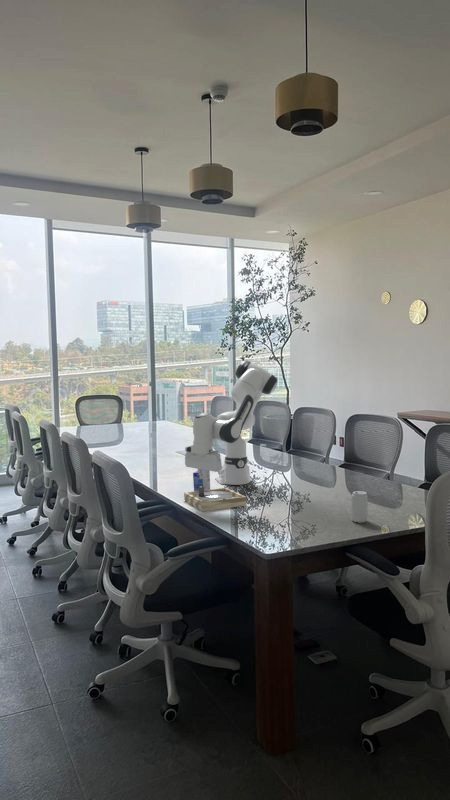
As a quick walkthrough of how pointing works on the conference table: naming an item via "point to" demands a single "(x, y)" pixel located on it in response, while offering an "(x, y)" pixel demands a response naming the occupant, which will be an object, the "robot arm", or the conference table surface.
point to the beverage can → (359, 506)
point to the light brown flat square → (215, 504)
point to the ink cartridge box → (201, 481)
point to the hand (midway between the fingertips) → (203, 478)
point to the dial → (212, 494)
